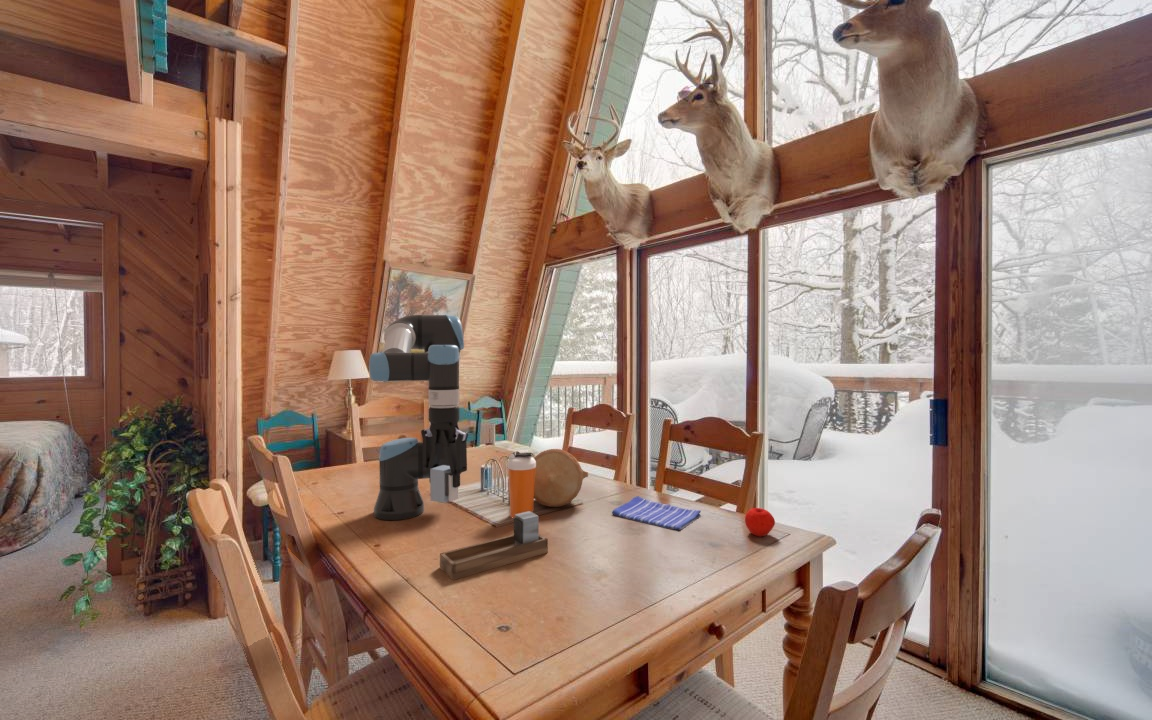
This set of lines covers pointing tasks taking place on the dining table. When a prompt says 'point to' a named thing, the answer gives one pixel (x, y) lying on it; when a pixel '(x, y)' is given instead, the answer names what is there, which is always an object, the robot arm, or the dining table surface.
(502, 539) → the rail
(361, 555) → the dining table surface
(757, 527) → the apple
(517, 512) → the shaker bottle
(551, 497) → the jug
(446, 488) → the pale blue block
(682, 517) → the dish towel
